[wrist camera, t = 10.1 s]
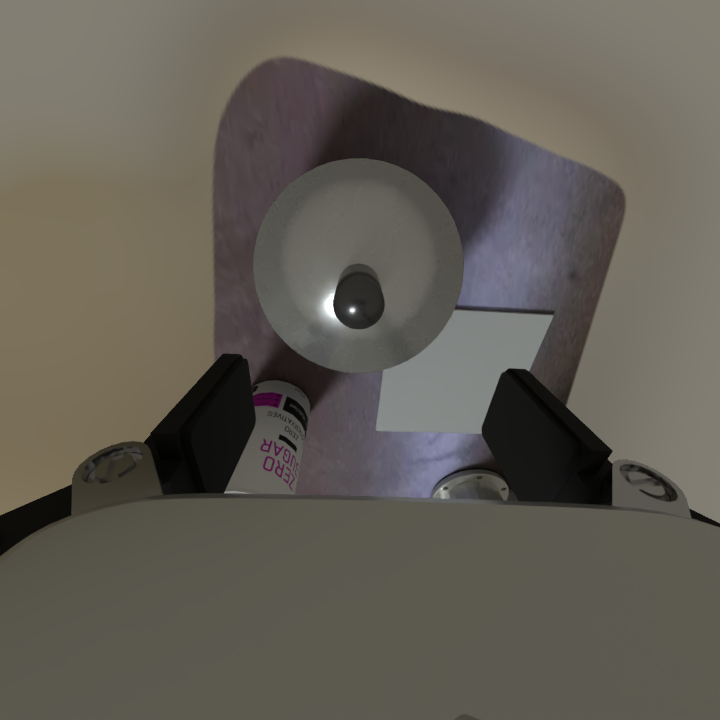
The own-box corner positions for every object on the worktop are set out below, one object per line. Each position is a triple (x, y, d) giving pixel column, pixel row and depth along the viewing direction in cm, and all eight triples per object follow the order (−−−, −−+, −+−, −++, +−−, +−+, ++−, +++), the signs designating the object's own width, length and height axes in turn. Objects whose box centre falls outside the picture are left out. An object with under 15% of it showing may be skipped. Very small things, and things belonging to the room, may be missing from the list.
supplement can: (239, 414, 37) (180, 531, 24) (258, 367, 33) (199, 474, 20) (297, 433, 39) (271, 550, 26) (320, 391, 35) (303, 502, 23)
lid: (437, 371, 27) (456, 412, 21) (268, 362, 26) (245, 402, 21) (484, 169, 19) (532, 155, 14) (244, 151, 18) (197, 129, 13)
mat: (499, 432, 40) (501, 434, 40) (375, 428, 39) (375, 430, 39) (551, 314, 31) (553, 315, 31) (391, 305, 30) (391, 306, 30)
